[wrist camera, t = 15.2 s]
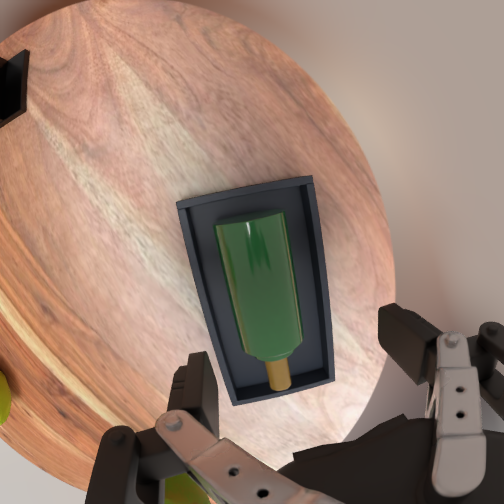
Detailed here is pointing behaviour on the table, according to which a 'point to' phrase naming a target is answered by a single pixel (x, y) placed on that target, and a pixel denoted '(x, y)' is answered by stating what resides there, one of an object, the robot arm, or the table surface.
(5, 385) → the fruit
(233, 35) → the table surface
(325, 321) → the tray
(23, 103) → the rack
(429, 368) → the robot arm
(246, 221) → the green bottle
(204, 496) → the apple
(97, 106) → the table surface
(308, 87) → the table surface
